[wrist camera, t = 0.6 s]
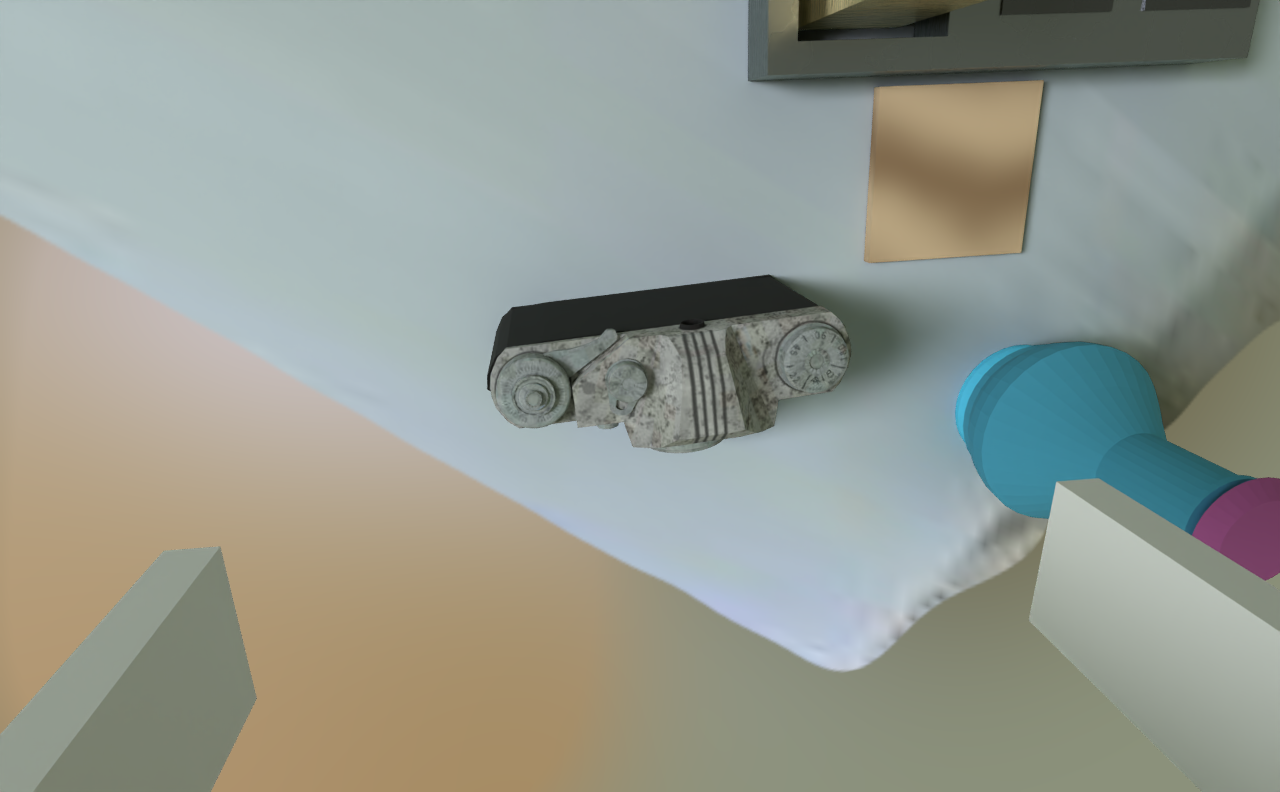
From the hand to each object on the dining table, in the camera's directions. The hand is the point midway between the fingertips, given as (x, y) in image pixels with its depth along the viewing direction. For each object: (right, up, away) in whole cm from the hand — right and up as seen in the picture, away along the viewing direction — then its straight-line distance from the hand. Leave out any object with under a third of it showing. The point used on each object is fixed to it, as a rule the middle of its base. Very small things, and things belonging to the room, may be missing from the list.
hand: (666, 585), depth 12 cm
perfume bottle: (+20, +3, +29) cm, 35 cm away
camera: (0, +5, +25) cm, 26 cm away
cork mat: (+15, +14, +24) cm, 31 cm away
